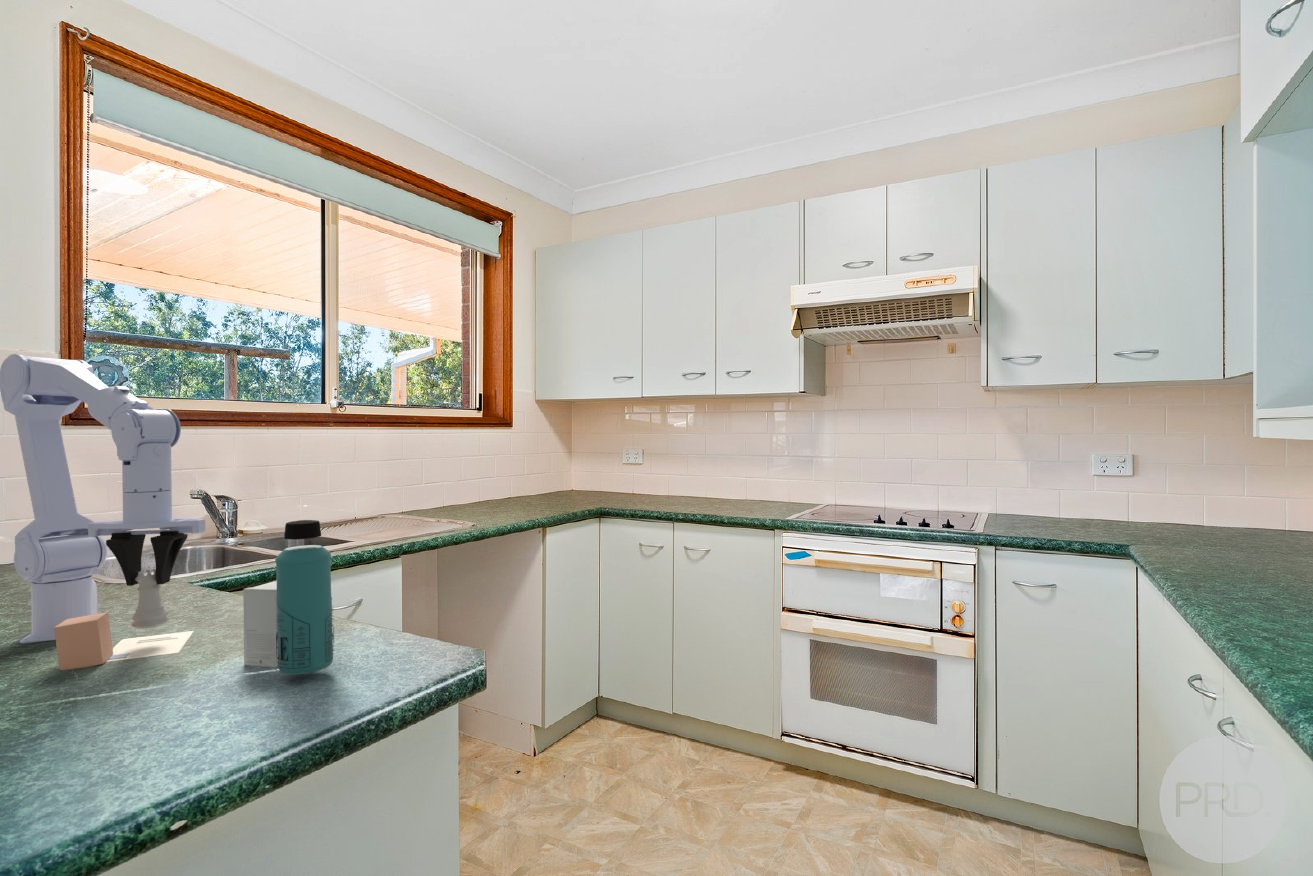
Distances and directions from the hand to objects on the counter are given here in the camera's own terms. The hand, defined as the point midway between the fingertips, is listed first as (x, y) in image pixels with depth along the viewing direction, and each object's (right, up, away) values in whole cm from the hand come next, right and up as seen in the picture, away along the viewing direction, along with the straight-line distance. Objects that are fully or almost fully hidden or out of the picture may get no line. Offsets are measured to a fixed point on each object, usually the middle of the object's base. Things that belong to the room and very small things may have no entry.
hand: (148, 583), depth 97 cm
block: (-3, -9, -7) cm, 12 cm away
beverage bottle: (+30, -9, -13) cm, 34 cm away
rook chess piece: (0, -6, 0) cm, 6 cm away
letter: (0, -9, 0) cm, 9 cm away
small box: (+23, -9, -5) cm, 25 cm away
